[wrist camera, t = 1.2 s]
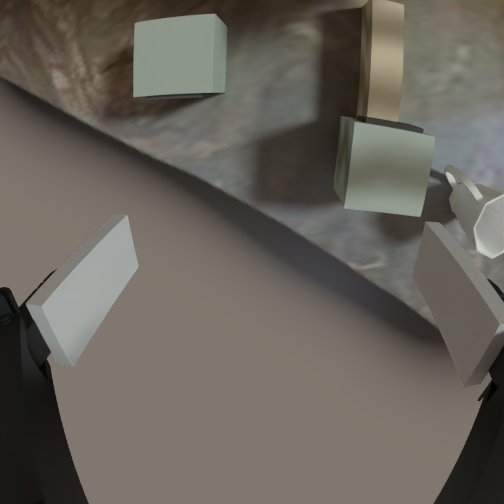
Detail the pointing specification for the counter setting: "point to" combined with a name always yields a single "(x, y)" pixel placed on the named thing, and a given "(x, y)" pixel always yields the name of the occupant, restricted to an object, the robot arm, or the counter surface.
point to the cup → (478, 212)
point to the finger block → (180, 57)
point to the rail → (381, 60)
